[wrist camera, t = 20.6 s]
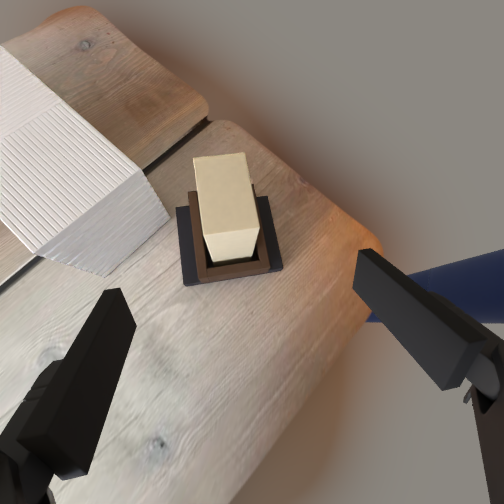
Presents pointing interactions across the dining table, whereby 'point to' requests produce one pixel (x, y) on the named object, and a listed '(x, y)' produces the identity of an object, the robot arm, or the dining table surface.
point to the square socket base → (197, 254)
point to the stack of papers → (67, 180)
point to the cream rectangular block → (227, 207)
